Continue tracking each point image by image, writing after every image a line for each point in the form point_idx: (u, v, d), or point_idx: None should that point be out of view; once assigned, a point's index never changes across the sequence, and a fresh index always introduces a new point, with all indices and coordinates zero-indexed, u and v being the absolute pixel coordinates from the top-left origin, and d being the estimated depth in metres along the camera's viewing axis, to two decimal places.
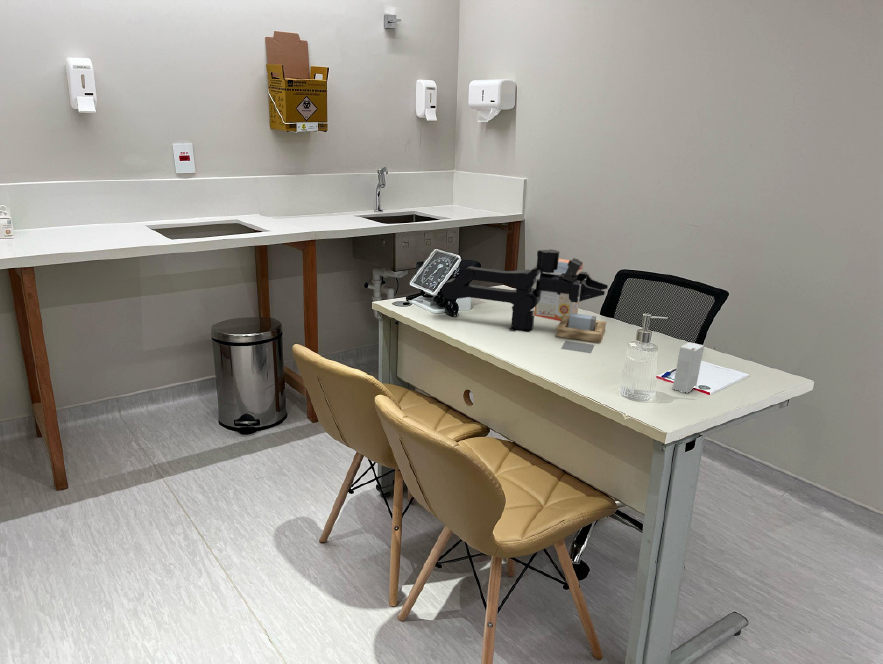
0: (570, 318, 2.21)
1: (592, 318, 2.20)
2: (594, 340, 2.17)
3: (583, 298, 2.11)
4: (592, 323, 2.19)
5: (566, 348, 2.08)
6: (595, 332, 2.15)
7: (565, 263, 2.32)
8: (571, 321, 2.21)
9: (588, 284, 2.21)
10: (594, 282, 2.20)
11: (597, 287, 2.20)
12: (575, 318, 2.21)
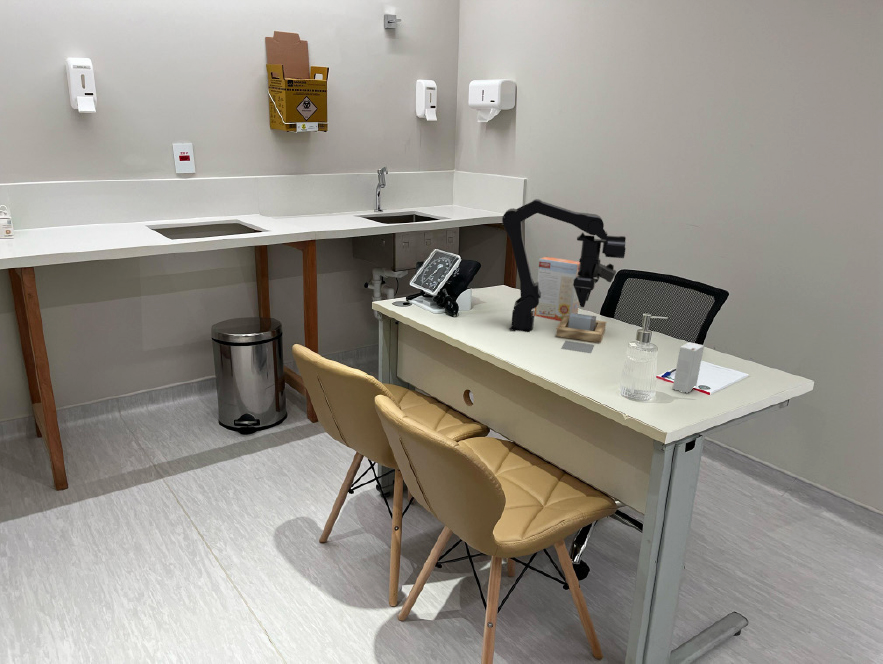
0: (570, 318, 2.21)
1: (592, 318, 2.20)
2: (594, 340, 2.17)
3: (577, 289, 2.14)
4: (592, 323, 2.19)
5: (566, 348, 2.08)
6: (595, 332, 2.15)
7: (565, 263, 2.32)
8: (571, 321, 2.21)
9: None
10: None
11: None
12: (575, 318, 2.21)
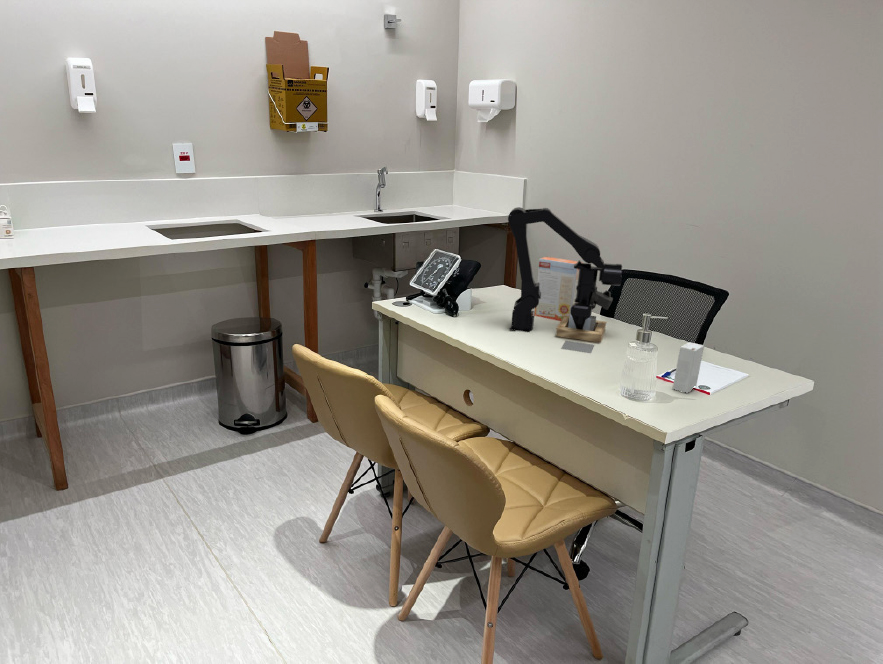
0: (570, 318, 2.21)
1: (592, 318, 2.20)
2: (594, 340, 2.17)
3: (574, 316, 2.16)
4: (592, 323, 2.19)
5: (566, 348, 2.08)
6: (595, 332, 2.15)
7: (565, 263, 2.32)
8: (571, 321, 2.21)
9: None
10: None
11: None
12: None
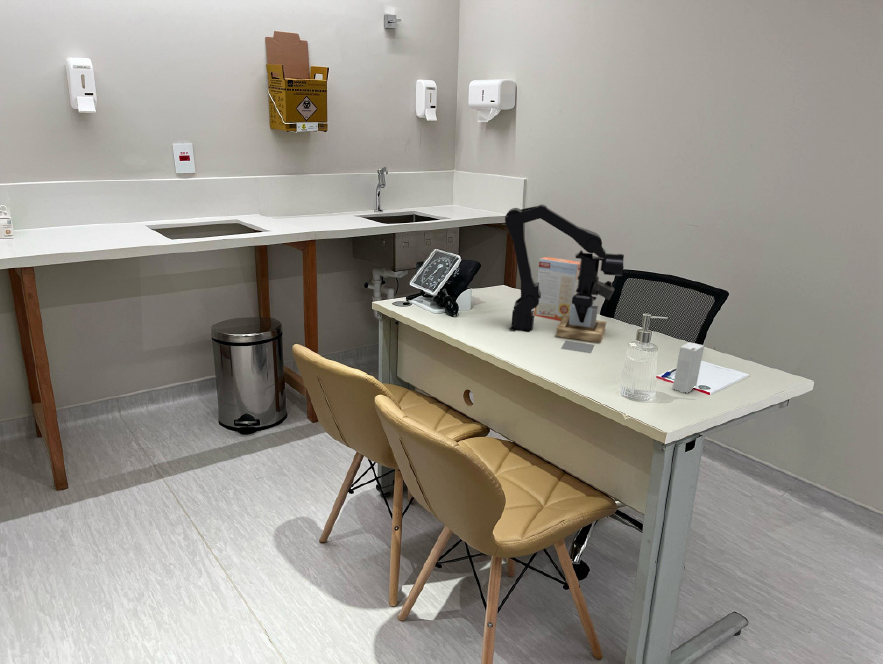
0: (571, 308, 2.20)
1: (594, 308, 2.19)
2: (594, 340, 2.17)
3: (576, 305, 2.17)
4: (594, 313, 2.18)
5: (566, 348, 2.08)
6: (595, 332, 2.15)
7: (565, 263, 2.32)
8: (573, 311, 2.20)
9: None
10: None
11: None
12: None
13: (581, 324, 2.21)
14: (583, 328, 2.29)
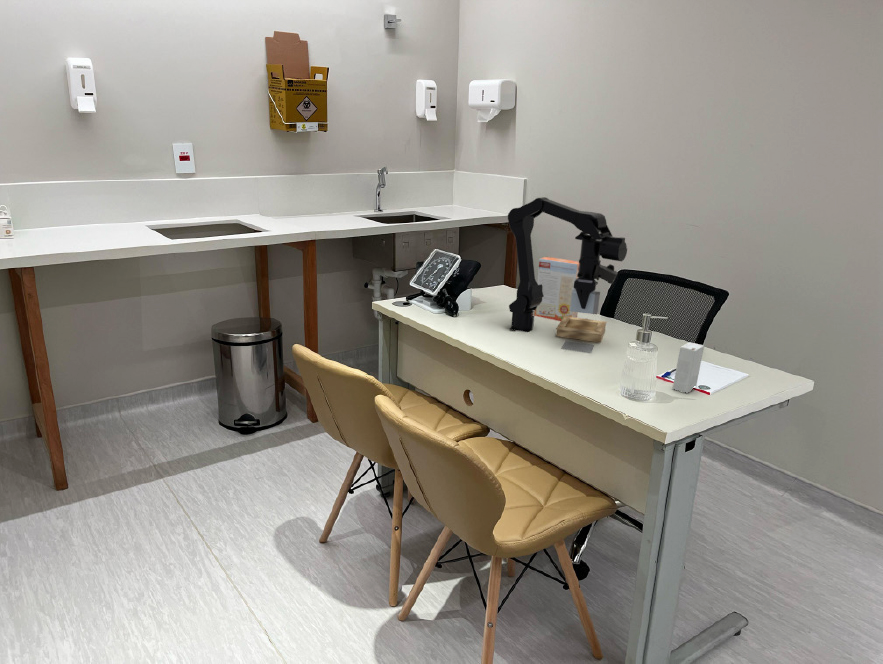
0: (573, 294, 2.08)
1: (596, 293, 2.07)
2: (594, 340, 2.17)
3: (577, 290, 2.05)
4: (596, 299, 2.06)
5: (566, 348, 2.08)
6: (595, 332, 2.15)
7: (565, 263, 2.32)
8: (574, 297, 2.08)
9: None
10: None
11: None
12: None
13: (583, 311, 2.09)
14: (583, 328, 2.29)
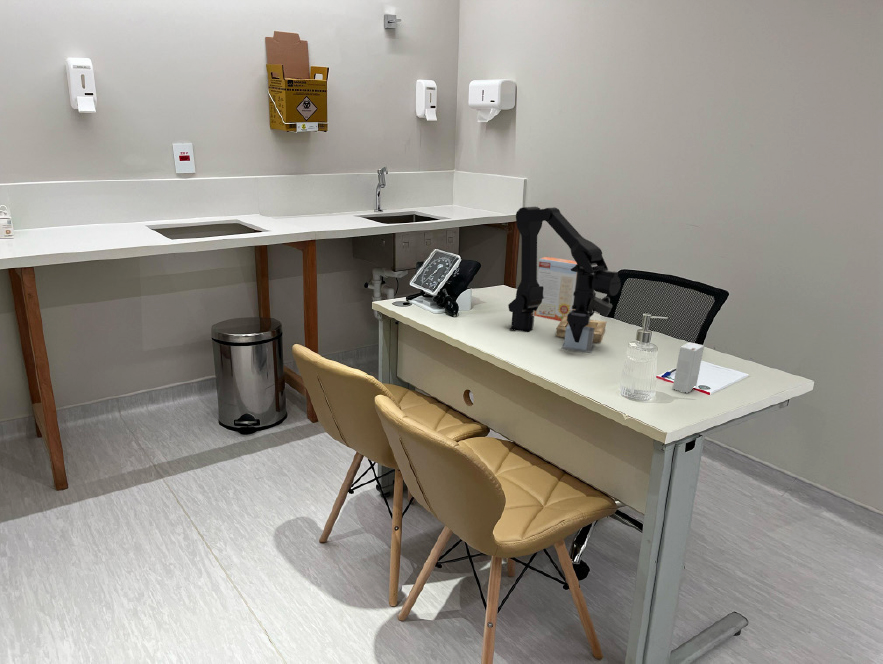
0: (567, 330, 2.08)
1: (590, 330, 2.07)
2: (594, 340, 2.17)
3: (571, 324, 2.03)
4: (590, 335, 2.06)
5: (566, 348, 2.08)
6: (595, 332, 2.15)
7: (565, 263, 2.32)
8: (568, 333, 2.08)
9: None
10: None
11: None
12: None
13: (577, 347, 2.08)
14: None
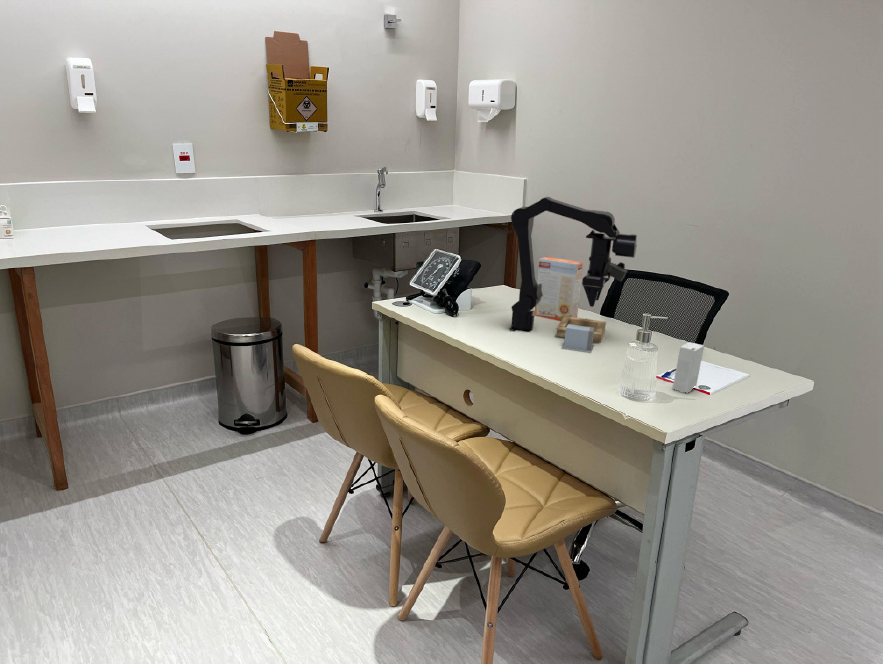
0: (567, 330, 2.08)
1: (590, 330, 2.07)
2: (594, 340, 2.17)
3: (586, 288, 2.09)
4: (590, 335, 2.06)
5: (566, 348, 2.08)
6: (595, 332, 2.15)
7: (565, 263, 2.32)
8: (568, 333, 2.08)
9: None
10: None
11: None
12: (572, 330, 2.08)
13: (577, 347, 2.08)
14: None
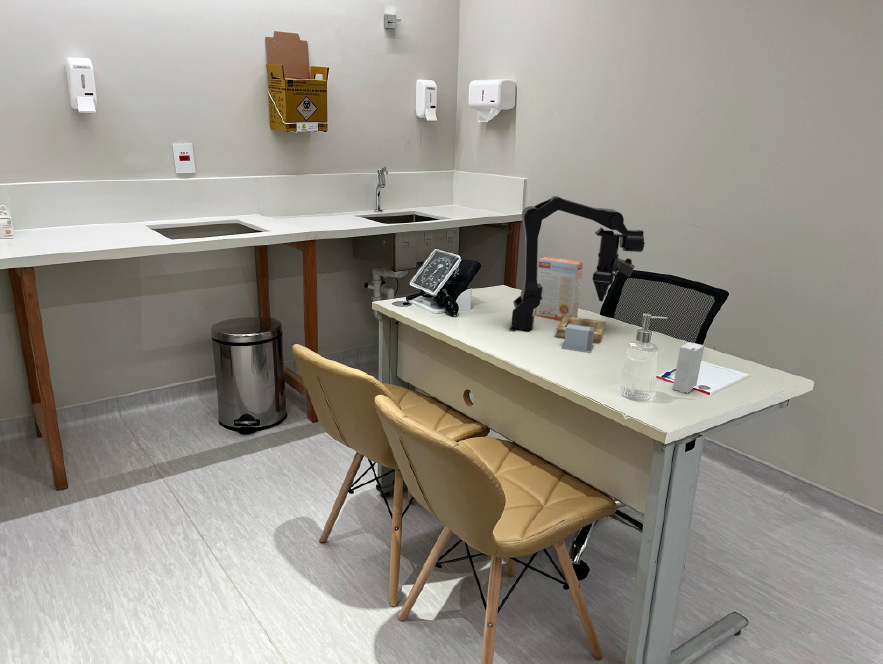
0: (567, 330, 2.08)
1: (590, 330, 2.07)
2: (594, 340, 2.17)
3: (596, 283, 2.16)
4: (590, 335, 2.06)
5: (566, 348, 2.08)
6: (595, 332, 2.15)
7: (565, 263, 2.32)
8: (568, 333, 2.08)
9: None
10: None
11: None
12: (572, 330, 2.08)
13: (577, 347, 2.08)
14: None
